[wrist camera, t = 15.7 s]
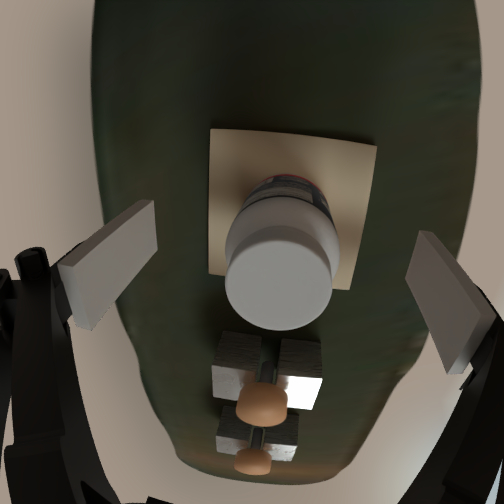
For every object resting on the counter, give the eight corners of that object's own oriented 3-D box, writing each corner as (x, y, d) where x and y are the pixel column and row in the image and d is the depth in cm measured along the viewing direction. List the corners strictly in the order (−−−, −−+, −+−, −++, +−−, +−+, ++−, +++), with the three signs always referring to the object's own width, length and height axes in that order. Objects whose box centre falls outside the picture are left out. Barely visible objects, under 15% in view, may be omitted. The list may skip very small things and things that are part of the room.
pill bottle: (326, 252, 20) (340, 346, 12) (247, 250, 20) (215, 340, 13) (330, 172, 17) (357, 225, 10) (243, 171, 18) (200, 222, 10)
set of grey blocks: (223, 330, 24) (211, 365, 21) (320, 342, 24) (322, 378, 20) (224, 423, 31) (217, 451, 28) (293, 432, 30) (290, 461, 27)
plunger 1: (247, 346, 23) (236, 396, 19) (293, 352, 23) (289, 403, 18) (245, 375, 25) (235, 422, 20) (287, 381, 24) (282, 428, 20)
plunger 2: (242, 419, 28) (234, 459, 24) (276, 423, 28) (272, 464, 23) (241, 434, 30) (233, 472, 25) (273, 439, 29) (268, 476, 25)
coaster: (212, 128, 18) (210, 128, 17) (375, 145, 17) (376, 146, 16) (210, 270, 22) (208, 273, 22) (348, 286, 21) (348, 289, 21)
